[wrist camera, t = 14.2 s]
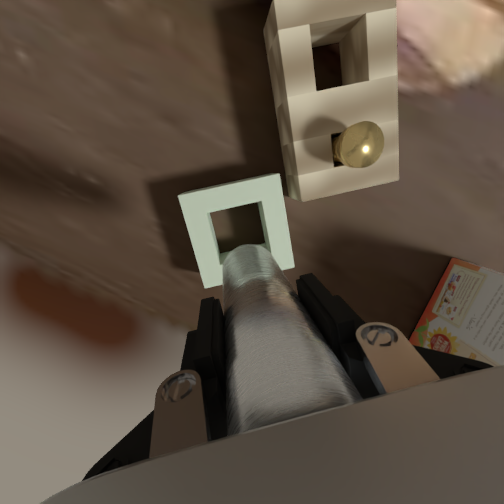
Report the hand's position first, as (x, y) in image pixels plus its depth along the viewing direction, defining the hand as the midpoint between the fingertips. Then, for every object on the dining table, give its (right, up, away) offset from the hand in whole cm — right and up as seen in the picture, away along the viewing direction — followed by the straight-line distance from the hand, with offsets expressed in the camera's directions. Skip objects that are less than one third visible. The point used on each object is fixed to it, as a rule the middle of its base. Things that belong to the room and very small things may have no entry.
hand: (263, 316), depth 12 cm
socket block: (+7, +18, +16) cm, 25 cm away
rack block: (-2, +6, +18) cm, 19 cm away
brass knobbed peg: (+8, +14, +17) cm, 23 cm away
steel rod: (-1, +2, +5) cm, 6 cm away
